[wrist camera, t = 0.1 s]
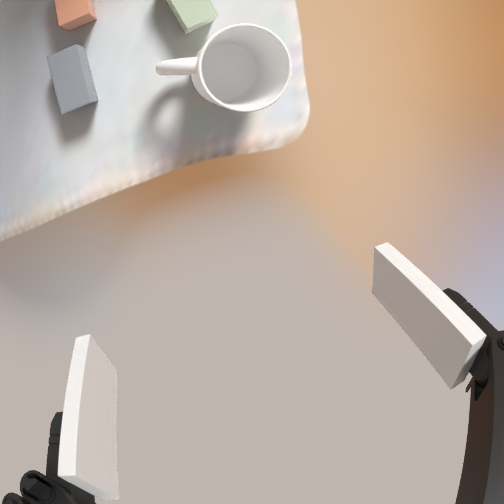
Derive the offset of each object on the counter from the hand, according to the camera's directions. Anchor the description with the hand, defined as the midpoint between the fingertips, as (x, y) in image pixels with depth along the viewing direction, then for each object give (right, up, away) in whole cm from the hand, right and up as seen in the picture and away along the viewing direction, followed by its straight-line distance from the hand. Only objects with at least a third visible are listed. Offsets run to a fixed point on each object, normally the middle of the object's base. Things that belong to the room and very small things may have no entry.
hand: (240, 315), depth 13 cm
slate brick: (-19, +22, +15) cm, 33 cm away
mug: (-4, +23, +19) cm, 30 cm away
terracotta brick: (-19, +31, +10) cm, 38 cm away
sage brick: (-7, +30, +14) cm, 34 cm away
